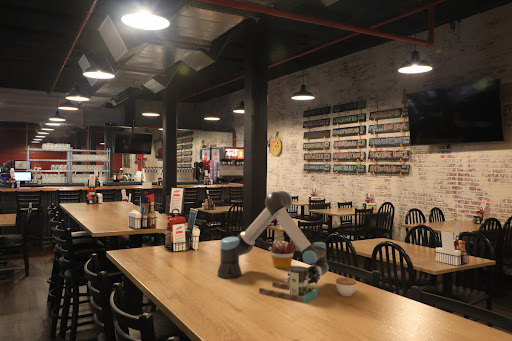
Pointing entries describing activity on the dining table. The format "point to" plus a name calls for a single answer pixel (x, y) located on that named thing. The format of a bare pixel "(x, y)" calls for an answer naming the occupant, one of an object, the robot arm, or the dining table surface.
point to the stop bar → (310, 295)
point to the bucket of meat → (282, 253)
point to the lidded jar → (346, 286)
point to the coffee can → (298, 280)
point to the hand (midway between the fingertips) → (295, 281)
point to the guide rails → (282, 294)
